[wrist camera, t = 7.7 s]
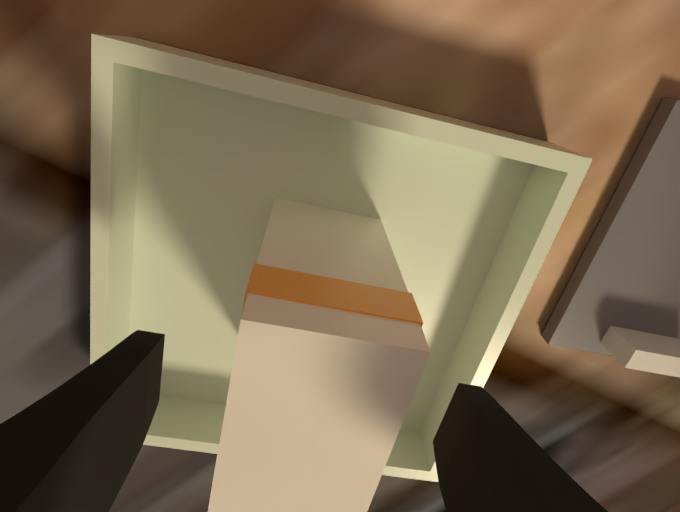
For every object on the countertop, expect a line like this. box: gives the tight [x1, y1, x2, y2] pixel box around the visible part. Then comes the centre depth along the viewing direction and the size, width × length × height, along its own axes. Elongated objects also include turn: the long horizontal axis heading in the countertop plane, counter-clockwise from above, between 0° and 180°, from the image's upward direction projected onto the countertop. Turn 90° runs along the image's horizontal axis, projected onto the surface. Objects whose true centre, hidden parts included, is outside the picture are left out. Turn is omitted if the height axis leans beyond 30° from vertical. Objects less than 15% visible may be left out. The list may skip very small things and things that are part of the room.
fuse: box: [208, 197, 431, 512], centre depth 12 cm, size 4×6×7 cm, turn 167°
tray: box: [90, 34, 593, 482], centre depth 15 cm, size 13×13×2 cm
